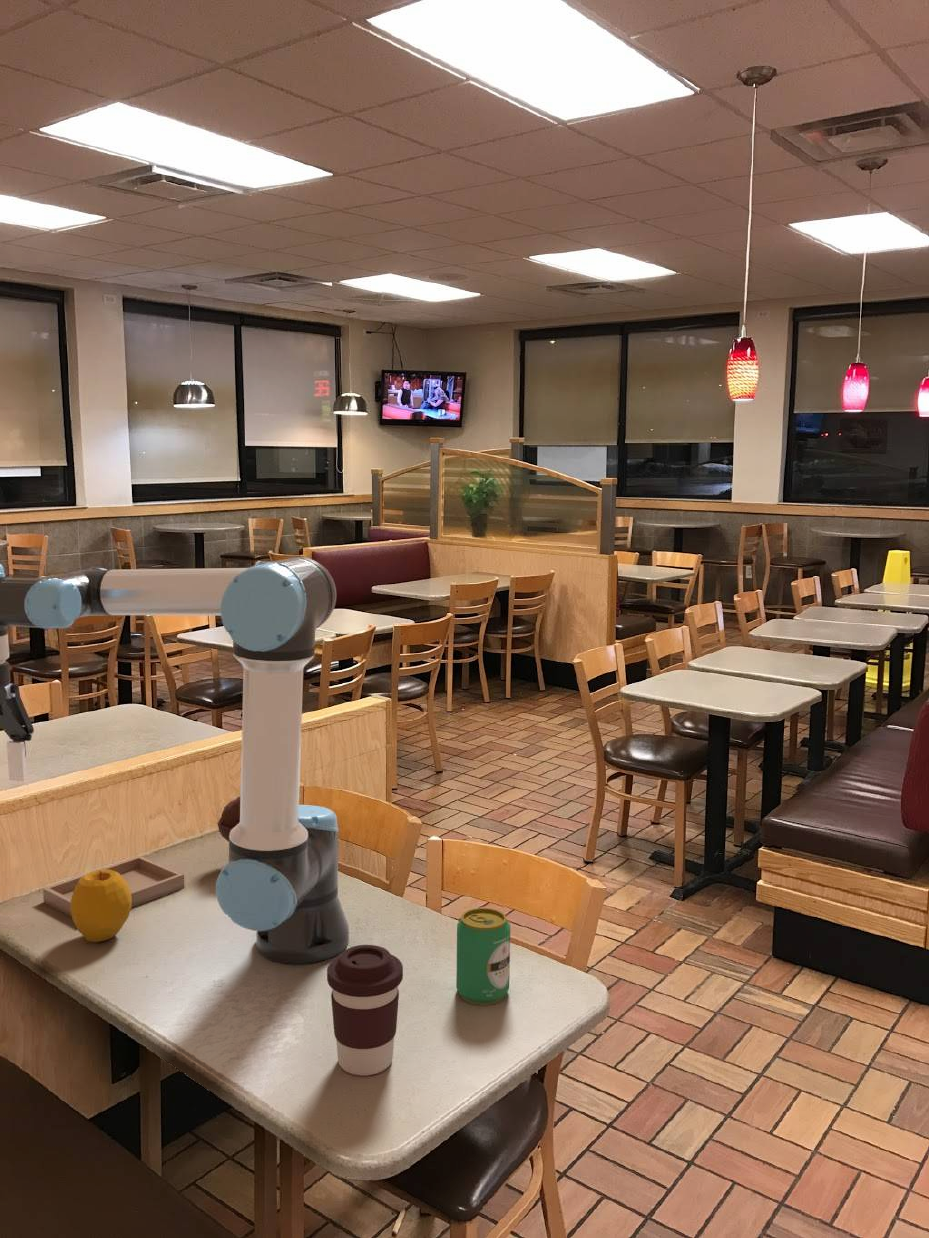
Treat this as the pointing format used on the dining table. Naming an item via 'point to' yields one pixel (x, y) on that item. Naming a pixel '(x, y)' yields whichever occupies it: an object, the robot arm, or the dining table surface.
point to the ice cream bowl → (229, 818)
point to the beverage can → (483, 956)
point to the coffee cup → (365, 1007)
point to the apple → (100, 904)
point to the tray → (139, 875)
